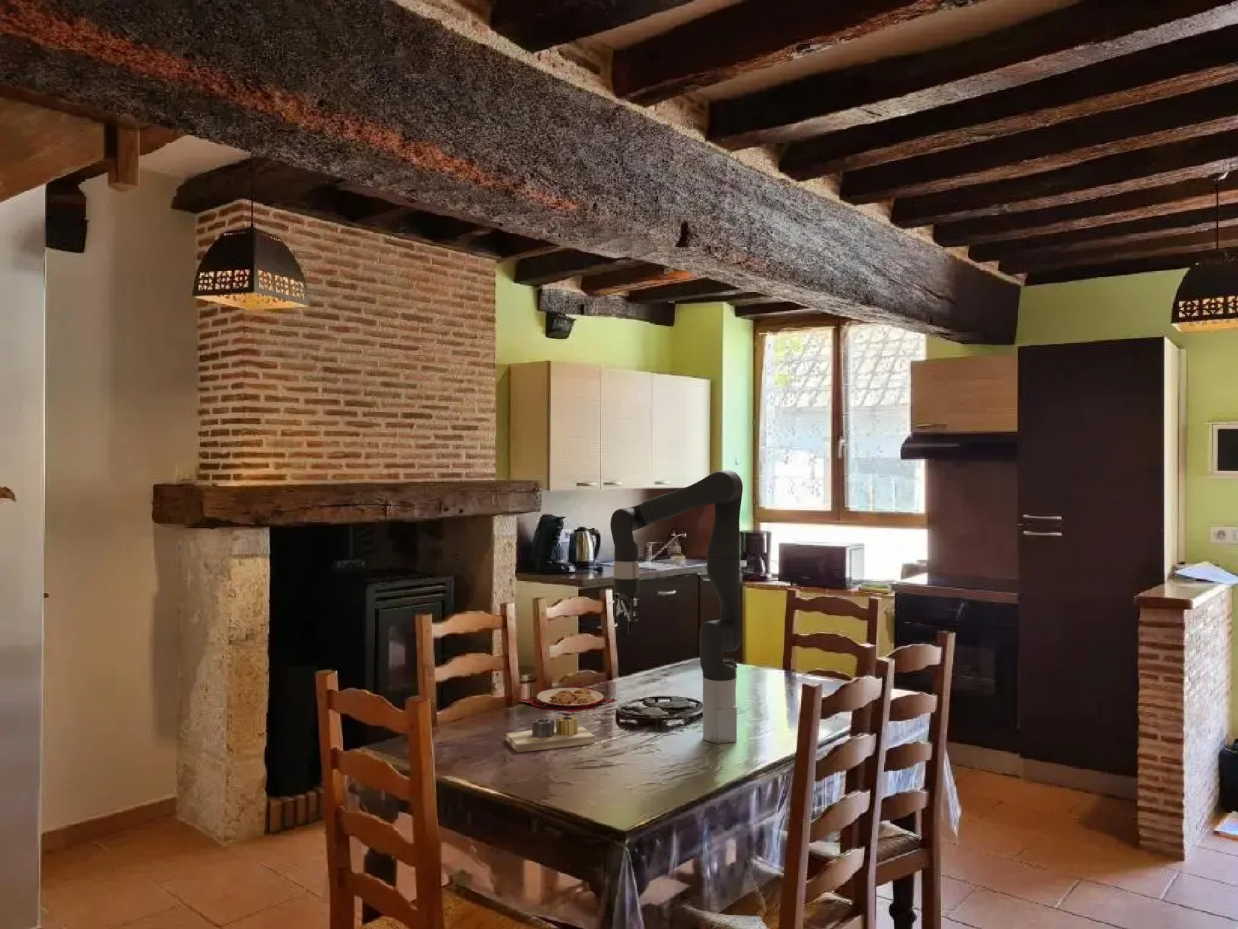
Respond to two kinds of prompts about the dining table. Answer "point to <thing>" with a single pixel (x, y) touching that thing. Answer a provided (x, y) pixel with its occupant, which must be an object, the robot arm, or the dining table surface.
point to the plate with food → (568, 699)
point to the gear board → (547, 737)
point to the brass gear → (567, 725)
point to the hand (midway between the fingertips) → (626, 631)
